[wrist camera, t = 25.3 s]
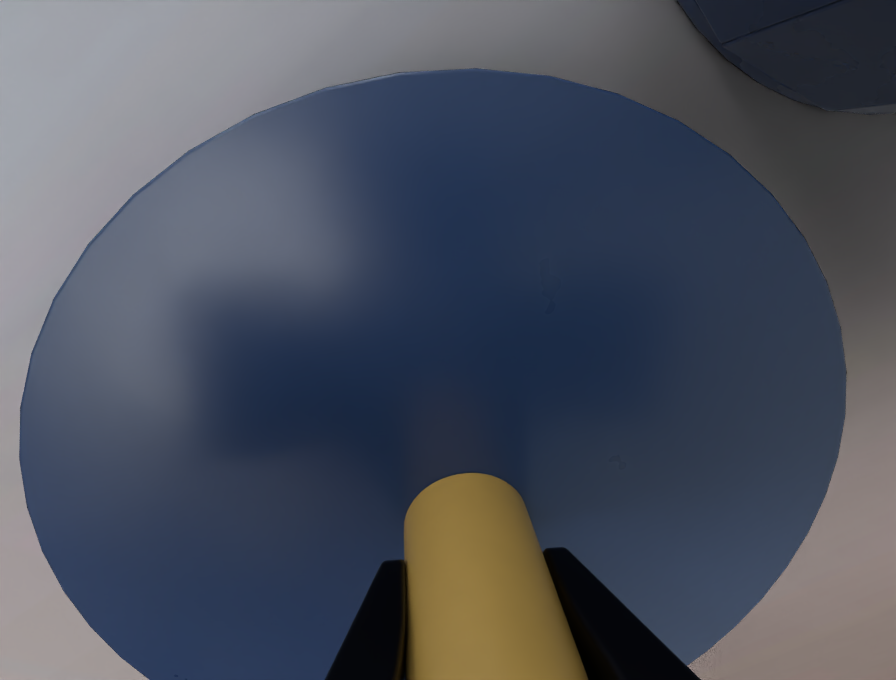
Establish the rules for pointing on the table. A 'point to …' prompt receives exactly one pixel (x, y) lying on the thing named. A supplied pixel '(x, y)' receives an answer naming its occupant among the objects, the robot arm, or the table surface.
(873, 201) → the table surface
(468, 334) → the tin lid
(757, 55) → the tin
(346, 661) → the robot arm
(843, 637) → the table surface
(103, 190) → the table surface
